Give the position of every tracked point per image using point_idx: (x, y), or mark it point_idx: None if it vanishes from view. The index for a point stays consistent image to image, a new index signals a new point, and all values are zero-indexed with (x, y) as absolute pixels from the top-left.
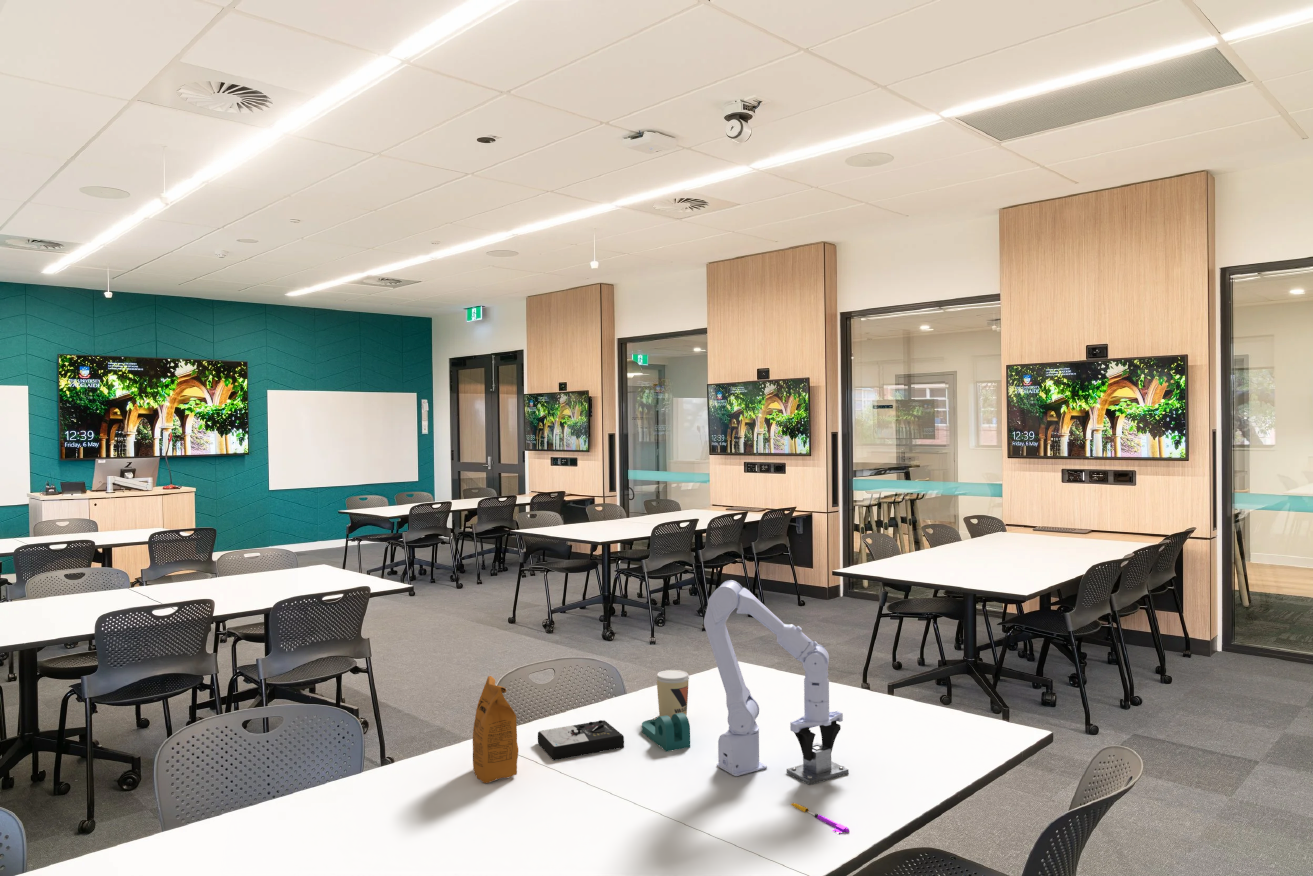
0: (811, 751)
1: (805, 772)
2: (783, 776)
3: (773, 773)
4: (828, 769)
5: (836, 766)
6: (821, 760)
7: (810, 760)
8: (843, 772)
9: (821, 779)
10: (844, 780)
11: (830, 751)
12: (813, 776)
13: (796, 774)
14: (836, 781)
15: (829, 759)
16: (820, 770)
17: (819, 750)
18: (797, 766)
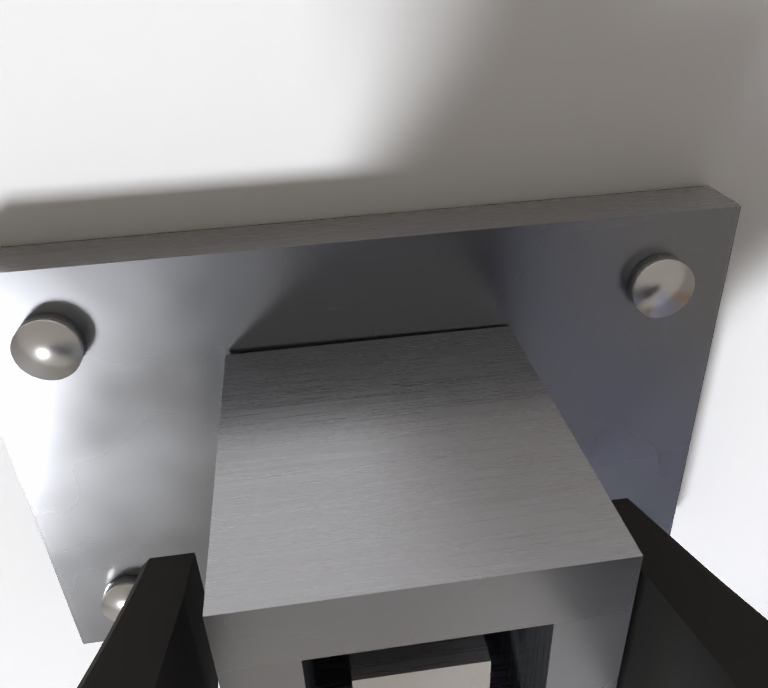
0: (703, 614)
1: (574, 429)
2: (721, 490)
3: (734, 568)
4: (284, 361)
5: (76, 426)
6: (453, 448)
7: (614, 503)
8: (63, 256)
9: (508, 214)
10: (164, 83)
11: (221, 569)
12: (587, 295)
13: (689, 431)
14: (302, 114)
15: (257, 457)
16: (446, 354)
17: (490, 620)
18: None
